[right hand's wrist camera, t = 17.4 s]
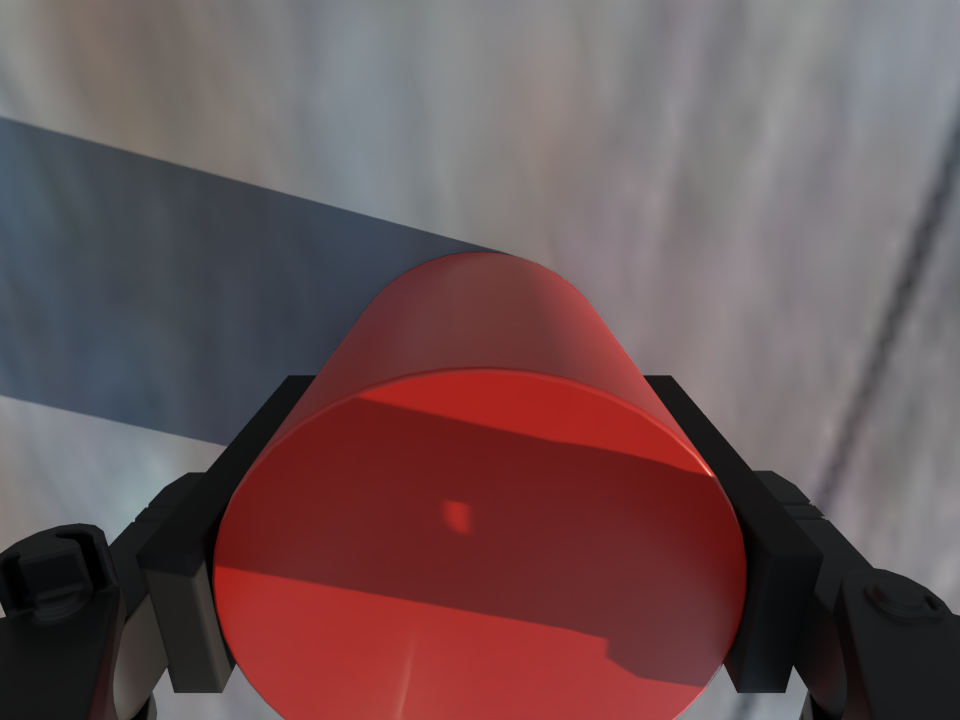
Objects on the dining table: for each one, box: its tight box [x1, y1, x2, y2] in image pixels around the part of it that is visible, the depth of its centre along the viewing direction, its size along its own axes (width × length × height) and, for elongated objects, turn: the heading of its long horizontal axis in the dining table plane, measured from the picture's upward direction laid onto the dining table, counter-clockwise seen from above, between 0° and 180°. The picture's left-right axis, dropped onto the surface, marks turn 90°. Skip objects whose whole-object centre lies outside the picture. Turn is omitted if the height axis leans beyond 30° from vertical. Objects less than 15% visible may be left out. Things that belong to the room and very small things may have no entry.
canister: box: [212, 252, 747, 720], centre depth 12 cm, size 8×8×9 cm
